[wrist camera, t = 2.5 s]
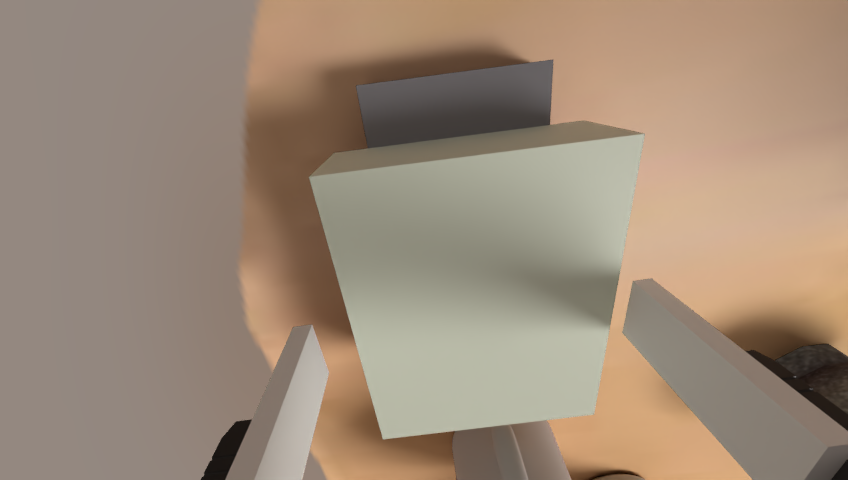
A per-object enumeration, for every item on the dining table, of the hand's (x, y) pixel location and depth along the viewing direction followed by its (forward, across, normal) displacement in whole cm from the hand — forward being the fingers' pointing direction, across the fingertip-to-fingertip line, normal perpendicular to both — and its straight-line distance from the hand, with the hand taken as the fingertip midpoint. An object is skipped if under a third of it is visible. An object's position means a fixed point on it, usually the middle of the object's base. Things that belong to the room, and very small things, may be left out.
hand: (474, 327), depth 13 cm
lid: (+4, 0, 0) cm, 4 cm away
